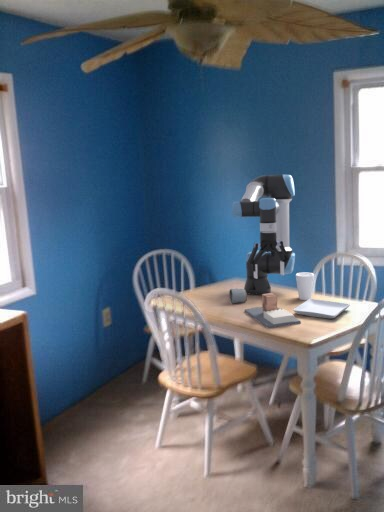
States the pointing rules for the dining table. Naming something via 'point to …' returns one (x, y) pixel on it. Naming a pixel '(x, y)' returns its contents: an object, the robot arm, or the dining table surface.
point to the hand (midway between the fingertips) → (269, 276)
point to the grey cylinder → (237, 295)
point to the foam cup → (305, 285)
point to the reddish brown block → (269, 302)
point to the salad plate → (321, 308)
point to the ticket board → (265, 322)
